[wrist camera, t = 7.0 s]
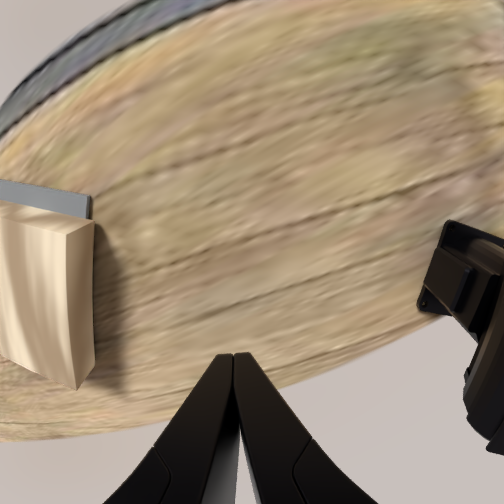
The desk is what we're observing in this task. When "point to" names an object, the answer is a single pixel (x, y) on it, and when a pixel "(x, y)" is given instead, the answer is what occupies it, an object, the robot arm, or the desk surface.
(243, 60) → the desk surface
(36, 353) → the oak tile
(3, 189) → the mat
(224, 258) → the desk surface
